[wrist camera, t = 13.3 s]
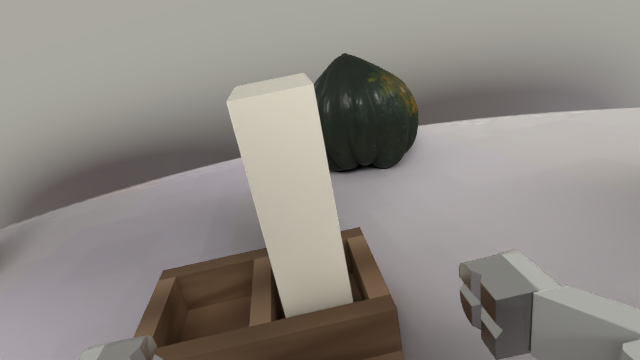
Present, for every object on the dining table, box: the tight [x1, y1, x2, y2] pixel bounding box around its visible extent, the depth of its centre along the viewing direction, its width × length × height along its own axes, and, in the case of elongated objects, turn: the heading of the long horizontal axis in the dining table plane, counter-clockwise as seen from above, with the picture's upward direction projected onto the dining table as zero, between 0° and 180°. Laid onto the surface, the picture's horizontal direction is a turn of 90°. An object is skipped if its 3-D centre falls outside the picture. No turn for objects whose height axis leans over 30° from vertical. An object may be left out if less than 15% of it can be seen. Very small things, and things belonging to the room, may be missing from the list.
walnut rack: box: [133, 227, 403, 360], centre depth 25 cm, size 9×15×4 cm, turn 97°
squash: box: [314, 53, 418, 171], centre depth 50 cm, size 14×15×15 cm
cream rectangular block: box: [227, 73, 353, 318], centre depth 22 cm, size 5×4×15 cm
